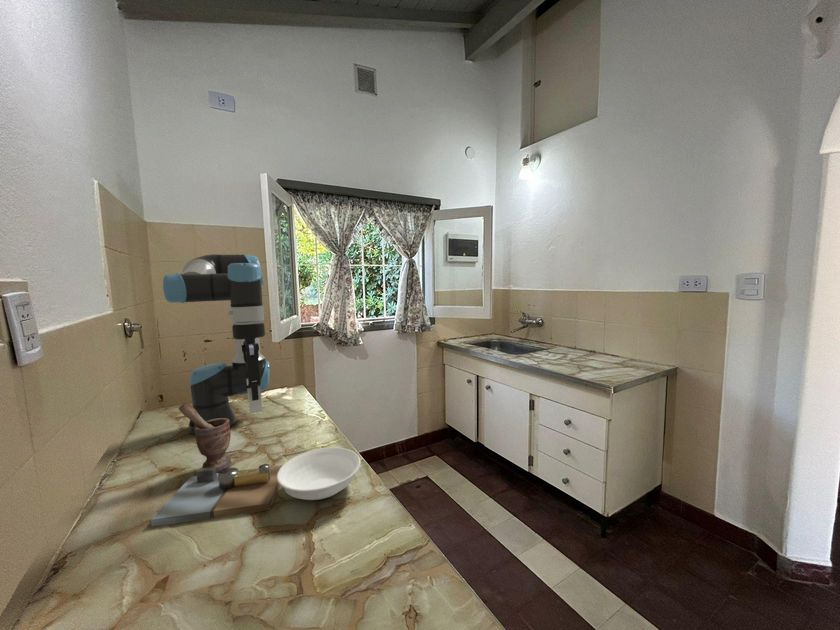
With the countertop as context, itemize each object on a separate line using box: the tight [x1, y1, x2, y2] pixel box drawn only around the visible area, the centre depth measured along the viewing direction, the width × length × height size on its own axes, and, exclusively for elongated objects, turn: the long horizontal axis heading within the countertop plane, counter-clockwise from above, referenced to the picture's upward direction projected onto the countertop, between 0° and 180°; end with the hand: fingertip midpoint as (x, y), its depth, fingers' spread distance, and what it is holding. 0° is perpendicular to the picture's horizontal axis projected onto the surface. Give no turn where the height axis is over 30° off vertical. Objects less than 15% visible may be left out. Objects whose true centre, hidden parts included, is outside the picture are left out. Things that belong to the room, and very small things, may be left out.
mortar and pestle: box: [178, 402, 232, 473], centre depth 94 cm, size 12×9×20 cm
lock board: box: [150, 464, 284, 527], centre depth 82 cm, size 17×24×5 cm
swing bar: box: [218, 463, 271, 489], centre depth 84 cm, size 12×4×4 cm, turn 100°
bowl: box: [277, 447, 362, 501], centre depth 82 cm, size 20×20×6 cm
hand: (254, 406), depth 89 cm, fingers open, 9 cm apart
